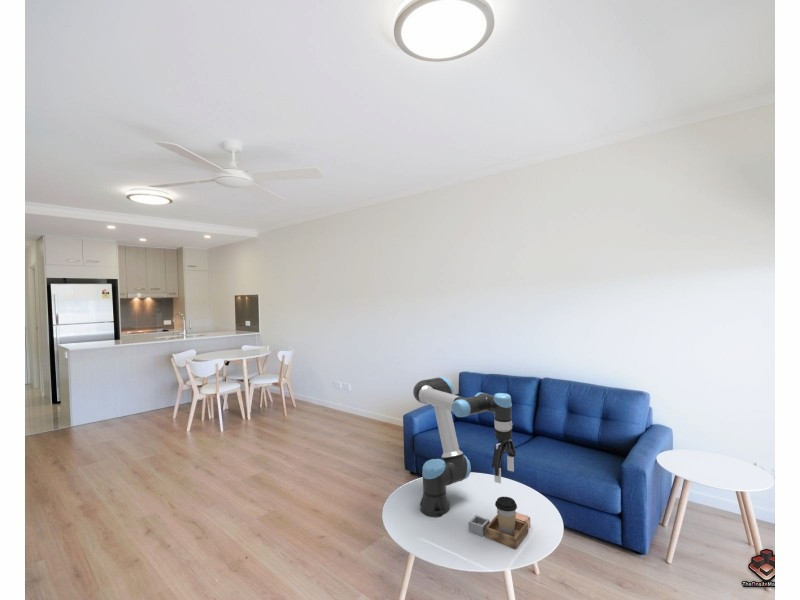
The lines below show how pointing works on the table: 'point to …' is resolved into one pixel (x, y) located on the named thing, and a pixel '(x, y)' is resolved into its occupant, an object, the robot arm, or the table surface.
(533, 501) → the table surface
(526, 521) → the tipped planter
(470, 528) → the grey tub
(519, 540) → the walnut box
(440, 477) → the robot arm
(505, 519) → the coffee cup
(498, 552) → the table surface
